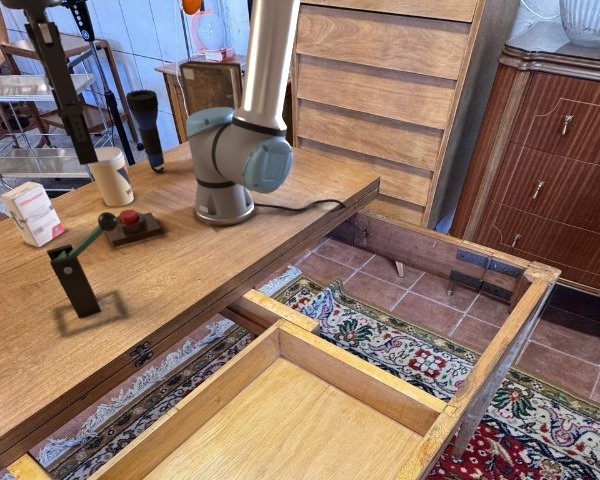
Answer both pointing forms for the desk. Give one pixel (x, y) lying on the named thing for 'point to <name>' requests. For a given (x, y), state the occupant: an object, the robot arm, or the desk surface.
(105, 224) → the lever
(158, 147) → the flashlight
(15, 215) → the ink box
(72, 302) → the bracket
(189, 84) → the book
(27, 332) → the desk surface
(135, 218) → the button
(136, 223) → the button block
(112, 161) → the coffee cup
